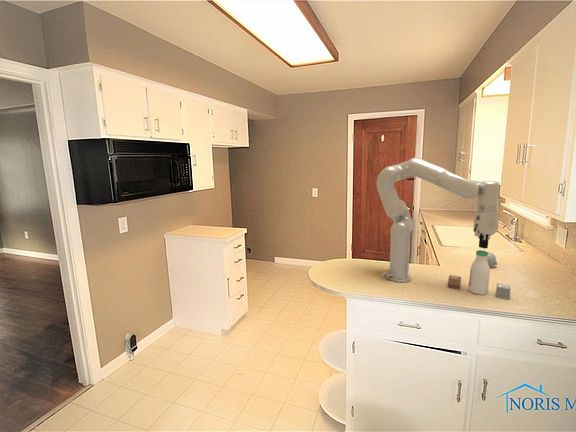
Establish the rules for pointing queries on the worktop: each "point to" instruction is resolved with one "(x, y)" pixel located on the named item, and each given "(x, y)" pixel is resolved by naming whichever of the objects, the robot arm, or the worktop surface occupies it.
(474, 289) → the milk bottle
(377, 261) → the worktop surface
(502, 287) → the slate grey block
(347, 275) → the worktop surface
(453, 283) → the walnut block
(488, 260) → the chubby cartoon animal
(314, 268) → the worktop surface
